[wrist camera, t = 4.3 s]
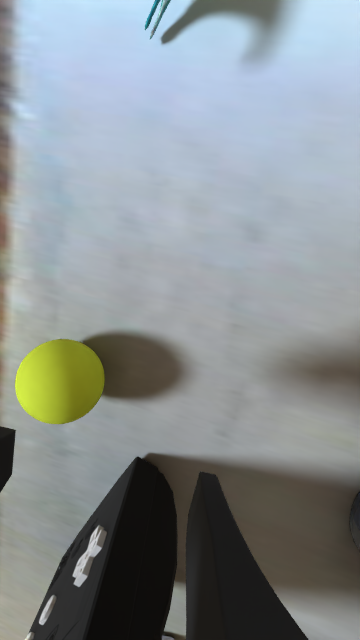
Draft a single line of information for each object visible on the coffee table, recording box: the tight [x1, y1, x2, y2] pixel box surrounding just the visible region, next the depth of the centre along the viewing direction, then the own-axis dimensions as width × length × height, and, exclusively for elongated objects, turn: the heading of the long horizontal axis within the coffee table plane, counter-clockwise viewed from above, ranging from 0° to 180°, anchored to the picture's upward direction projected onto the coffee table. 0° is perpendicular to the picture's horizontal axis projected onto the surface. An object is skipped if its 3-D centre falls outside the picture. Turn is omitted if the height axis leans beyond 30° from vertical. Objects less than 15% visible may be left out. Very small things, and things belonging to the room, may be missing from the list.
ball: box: [15, 339, 105, 424], centre depth 18 cm, size 5×5×5 cm
